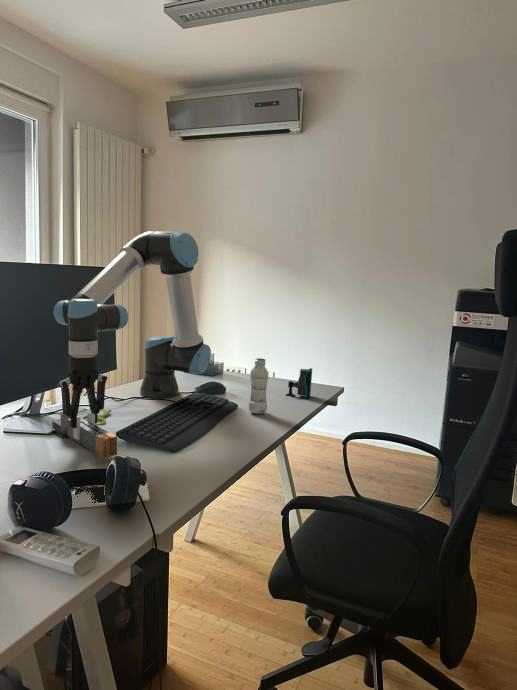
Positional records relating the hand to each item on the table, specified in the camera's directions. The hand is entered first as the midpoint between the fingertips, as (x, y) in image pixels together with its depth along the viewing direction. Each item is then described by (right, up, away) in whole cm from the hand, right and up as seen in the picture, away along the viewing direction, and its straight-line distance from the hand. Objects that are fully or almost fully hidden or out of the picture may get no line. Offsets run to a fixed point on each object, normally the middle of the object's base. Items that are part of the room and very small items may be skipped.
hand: (84, 436), depth 134 cm
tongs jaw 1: (+2, -2, -3) cm, 4 cm away
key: (-3, +1, +23) cm, 23 cm away
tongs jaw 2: (+3, -2, -2) cm, 4 cm away
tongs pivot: (-9, -1, +9) cm, 13 cm away
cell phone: (+15, -9, -27) cm, 32 cm away
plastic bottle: (+49, +1, +38) cm, 62 cm away
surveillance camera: (+66, +4, +63) cm, 91 cm away
